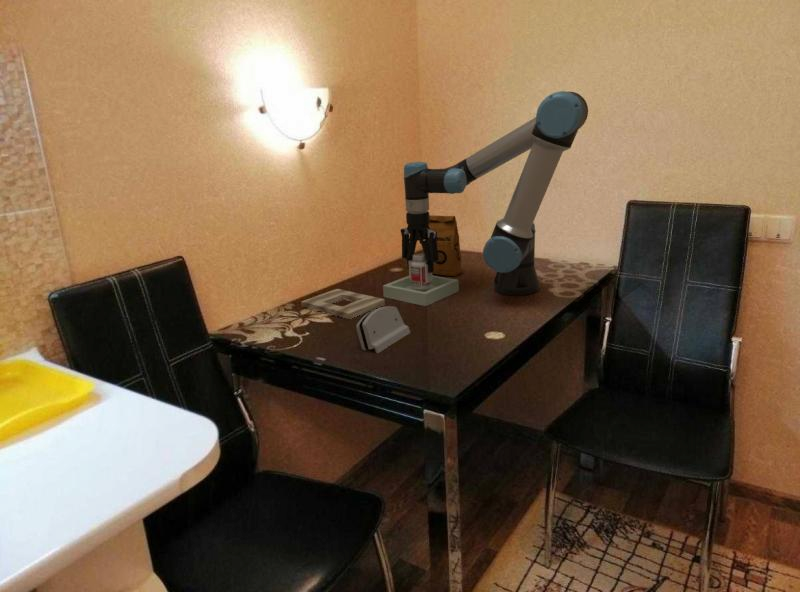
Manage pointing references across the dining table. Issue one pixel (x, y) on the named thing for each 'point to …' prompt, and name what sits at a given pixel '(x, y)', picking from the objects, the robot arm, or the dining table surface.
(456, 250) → the coffee package
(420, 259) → the pill bottle
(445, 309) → the dining table surface
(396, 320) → the napkin holder
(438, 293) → the tray
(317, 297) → the socket block
